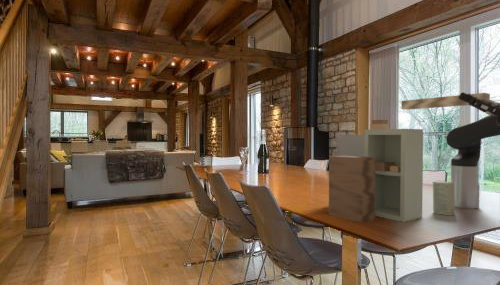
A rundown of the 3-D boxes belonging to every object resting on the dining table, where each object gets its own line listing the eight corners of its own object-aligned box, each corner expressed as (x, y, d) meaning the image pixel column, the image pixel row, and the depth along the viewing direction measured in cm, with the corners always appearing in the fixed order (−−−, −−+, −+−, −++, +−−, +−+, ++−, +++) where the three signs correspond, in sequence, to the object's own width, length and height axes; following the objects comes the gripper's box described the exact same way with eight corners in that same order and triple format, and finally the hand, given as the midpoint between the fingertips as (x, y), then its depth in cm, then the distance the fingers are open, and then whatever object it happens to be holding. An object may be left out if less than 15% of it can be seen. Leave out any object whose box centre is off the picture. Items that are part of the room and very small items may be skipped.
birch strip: (401, 109, 119) (401, 100, 119) (407, 109, 121) (407, 101, 121) (484, 102, 98) (484, 92, 98) (489, 103, 100) (489, 93, 100)
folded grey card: (369, 204, 141) (370, 135, 140) (373, 207, 135) (374, 135, 135) (336, 203, 142) (336, 135, 142) (338, 206, 137) (338, 135, 136)
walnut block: (342, 211, 127) (343, 155, 126) (374, 219, 115) (375, 157, 115) (328, 214, 122) (329, 156, 122) (360, 222, 111) (361, 158, 110)
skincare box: (454, 214, 123) (455, 182, 123) (449, 216, 121) (450, 183, 120) (437, 211, 128) (437, 180, 128) (432, 212, 126) (432, 181, 125)
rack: (382, 209, 131) (382, 121, 131) (422, 217, 118) (423, 119, 118) (363, 213, 125) (364, 120, 124) (404, 222, 111) (405, 118, 111)
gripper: (538, 109, 95) (479, 86, 107) (522, 107, 86) (460, 82, 98) (521, 132, 98) (466, 107, 110) (504, 131, 89) (446, 105, 101)
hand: (463, 95), depth 104 cm, fingers closed on birch strip, 4 cm apart
